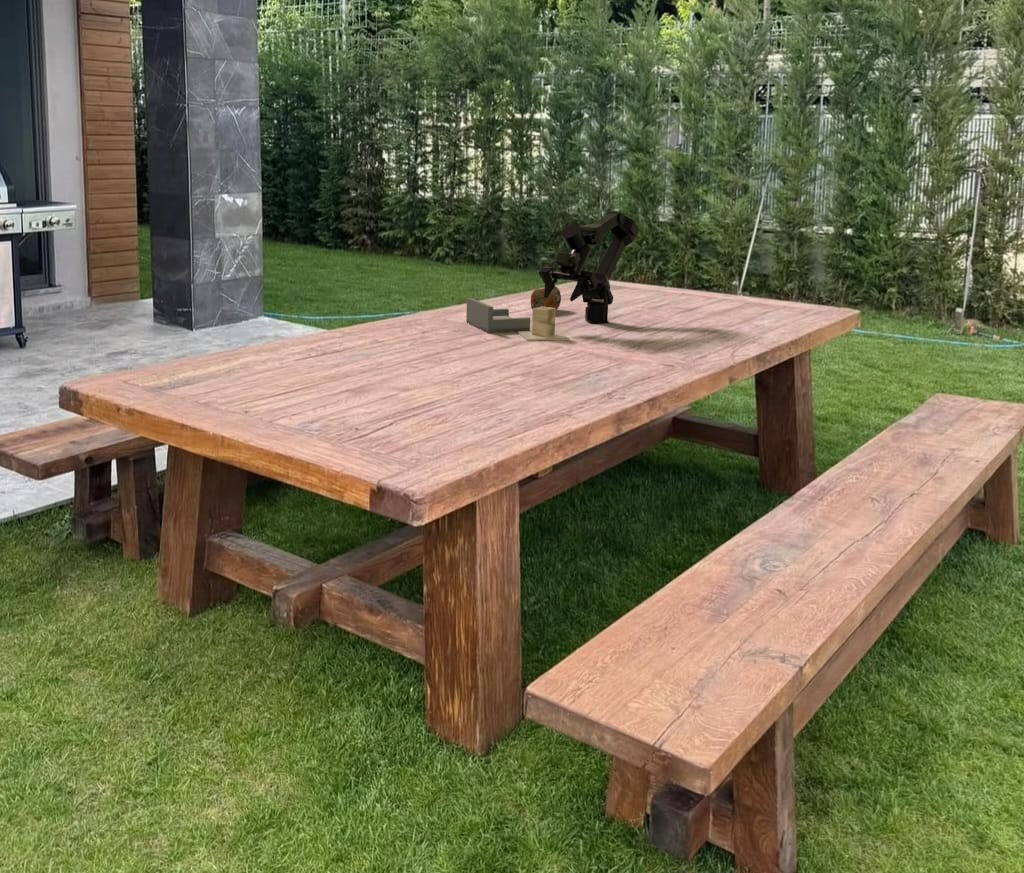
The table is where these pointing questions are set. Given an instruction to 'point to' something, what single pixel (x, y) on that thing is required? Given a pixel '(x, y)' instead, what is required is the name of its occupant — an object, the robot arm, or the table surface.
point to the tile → (556, 336)
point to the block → (543, 321)
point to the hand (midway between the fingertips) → (557, 299)
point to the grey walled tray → (493, 318)
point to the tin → (541, 301)
